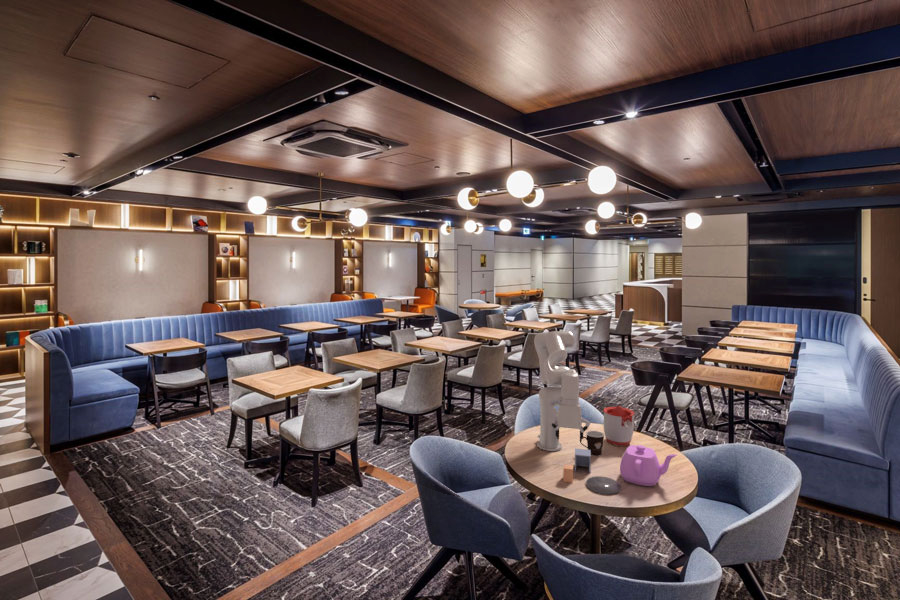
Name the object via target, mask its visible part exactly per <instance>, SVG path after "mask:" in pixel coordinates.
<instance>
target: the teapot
mask: <svg viewBox="0 0 900 600" xmlns="http://www.w3.org/2000/svg"><path fill="white" fill-rule="evenodd" d="M677 456H678V455H677V454H674V453H673V454H668V455H666V457H665V459H664V462H663V463H662V464H660V461H659V459H658V456H657V453H656V452H655V449H653V448H651V447H646V446H645V445H643V444H638V445H635V444H631V445H628V447H627V448H626V449H625V451H624V453H623V455H622V458H621V461H620V465H619V471H620V472H619V473H620V475H621V477H622V479H623V480H624V481H625V482H628V483H631V484H634V485H638V486H645V487H654V486H655V485H656V484H657V483H658V481H660V479H661V476H663V475H665V474H666V473H667V471H668V470H669V466H670V463H671V460H672V459H674V458H675V457H677Z"/></svg>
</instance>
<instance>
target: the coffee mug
mask: <svg viewBox="0 0 900 600" xmlns="http://www.w3.org/2000/svg"><path fill="white" fill-rule="evenodd" d="M585 434H586V437H585V436H583V439H585V440H586V443H587V446H586V445H585V444H583V443H582V442H581V441H580V440H579V444H580V445H582V446H583V447H585V448H586V449H587V450H590V451H591V456H593V455H594V456H595V457H600V456H602V453H603V446H604V438H605V433H604V432H601V431H598V430H588V431H586V433H585ZM599 455H600V456H599Z"/></svg>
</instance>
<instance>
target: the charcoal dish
mask: <svg viewBox="0 0 900 600" xmlns="http://www.w3.org/2000/svg"><path fill="white" fill-rule="evenodd" d="M585 484H586V487H587V488H588V489H589V490H590V491H592V492H594V493H596V492H597V494H599V493H600V494H599V495H605V494H606V495H608V496H609V495H610V496H611V495H612V494H613V495H617V494H618V493H620V492H621V489H622V488H621V487H622V486H621V484H620V482H618V481H617V480H615V479H613V478H611V477H606V476H602V475H601V476H591V477H589V478H587V479H586V483H585ZM613 495H612V496H613Z"/></svg>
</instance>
